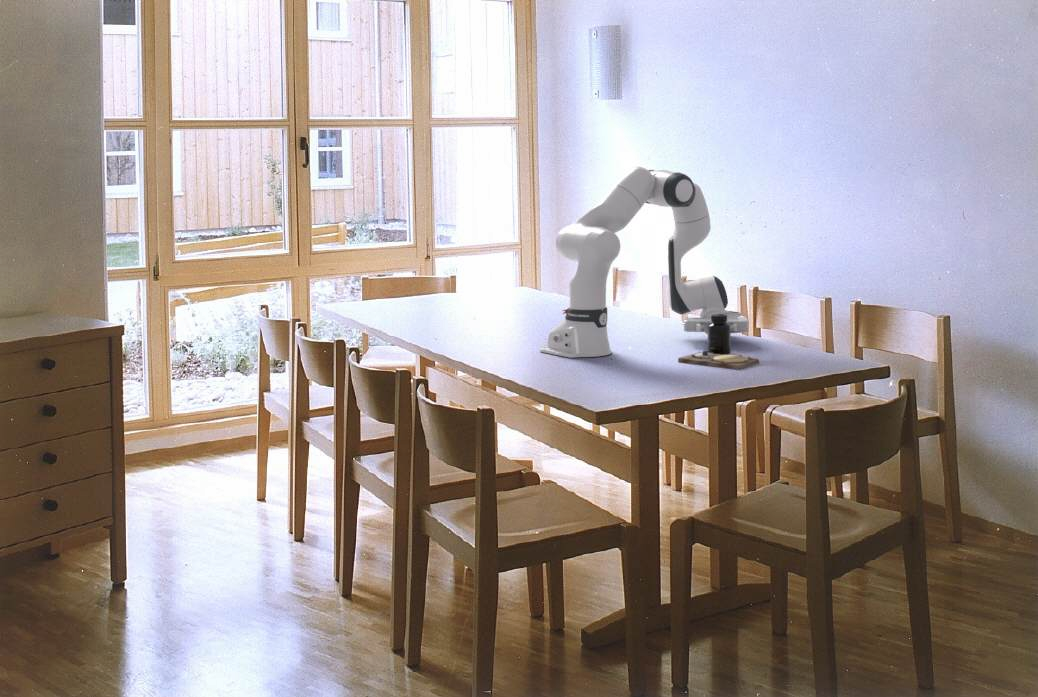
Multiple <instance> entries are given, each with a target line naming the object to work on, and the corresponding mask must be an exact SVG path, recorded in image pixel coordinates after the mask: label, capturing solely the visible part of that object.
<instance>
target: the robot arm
mask: <svg viewBox="0 0 1038 697" xmlns="http://www.w3.org/2000/svg"><path fill="white" fill-rule="evenodd" d="M645 204H649V205H651V204H652V205H656V206H659V207H665V208H666V207H670V208H671V209H672V216H673V219H674V220H673V221H674V227H675V228H674V232H673V234H672V236H670V237H669V239H668V243H667V244H668V245H667V250H668V251H667V252H668V254H667V255H668V256H667V258H668V259H667V261H668V262H667V264H668V283H669V286H668V294H667V295H668V298H667V299H668V300H667V301H668V305H669V307H670V308H671V311H673V312H674V313H676V314H679V315H685V314H688V313H691V312H693V311H699V310H701V311H700V312H699V313H700V314H699V317H687V318H684V320H683V321H682V323H681V324H682V325H683V331H684V332H686V333H687V332H689V333H691V332H693V333H705V334H707V335H708V326H709V324H711V323H712V321H711V315H713V314H726V315H727V321H726V323H728V324H729V325H730V334H740V333H748V332H749V331H750V329H749V328H750V320H749V319H748V317H746V316H744V315H743V312H741V311H731V310H726V308H727V306H728V305H729V300H728V295H727V290H726V287H725V285H724V283H723V281H722V280H721V279H720V278H719V277H717V276H715V275H712V276H707V277H702V278H699V279H695V280H690V281H685V282H683V281H682V266H681V265H682V264H681V263H682V259H683V257H684V256H685V255H686V254H687V253H688V252H689V251H691V250H692V249H694V248H696V247H698V245H700V244H702V243H703V242H704V240H706V238H707V237H708V236H709V234H710V231H711V228H712V227H711V219H710V218H711V217H710V213H709V209H708V205H707V201H706V198H705V196H704V193H703V192H702V188H701V187H700V186H699V185H698V184H697V183H694V182H693V180H692V179H691V177H690V176H688V175H687V174H685V173H682V172H679V171H678V172H674V171H670V170H665V169H663V170H662V169H657V170H656V169H655V170H654V169H647V168H645V167H642V166H634V167H632V168H630V169H629V170H627V171H626V172H625V173H624V174H622V175H621V177H619V178H618V179H617V180H616V182H615V183H613V185H612V186H611V187H610V188H609V190H608V191H607V192H606V193H605V194H604V195H603V197H602V198H601V199H600V200H599V201H598V202H597V204H595V205H594V206H593V207H592V208H591V209H590V210H588V211H587V212H585V214H583V215H581V217H579V218H578V219H577V220H575V221H574V222H573V223H571V224H570V225H567V226H565V227H563V228H562V229H561V230H560V231H559V232H558V233H557V236H556V239H555V246H556V249H557V251H558V253H559V254H560V255H561V256H563V257H565V258H566V259H569V260H570V261H574V262H578V263H577V264H578V265H577V268H576V273H575V275H574V276H573V278H571V280H570V282H569V307H568V308H567V309H563V310H562V314H563V315H565V314H566V315H565V317H564V318H565V319H564V320H562V321H561V322H560V323H559V324H558V325H556V326H555V327H554V328H553V329H551V330H550V331H549V334H548V337H547V345H544V346H542V347H540V349H539V350H540V351H539V352H541V353H545V354H550V355H553V356H554V355H555V356H558V357H559V356H560V357H566V358H592V357H593V358H595V357H603V356H608V355H610V354H612V350H611V346H610V342H609V337H608V327H607V325H608V307H607V281H608V276H609V272H610V269H611V266H612V263H613V262H614V261H615V260H616V259H617V257H618V256H619V255H620V250H621V241H620V238H619V236H618V235H617V234H616V233H618V232H621V231H622V230H624V229H625V228H626V227H627V226H628V225H629V223H630V222H632V220H633V218H634V217H635V216H636V215H637V214H638V213H639V211H640V210H641V209H642V207H643V206H644V205H645Z"/></svg>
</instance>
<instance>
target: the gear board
mask: <svg viewBox="0 0 1038 697" xmlns="http://www.w3.org/2000/svg"><path fill="white" fill-rule="evenodd" d="M677 362H678V363H684V364H692V365H700V366H705V367H706V366H707V367H713V368H722V369H730V370H737V371H738V370H741V369H744V368H748V367H752V366H754V365H757V364H759V363H760V359H759V358H752V357H751V356H745V355H742V354H729V355H727V354H724V355H721V354H714V353H708V350H707V349H706V350H705V349H704V350H702V351H699V352H695V353H691V354H688V355H685V356H681V357H678V358H677Z"/></svg>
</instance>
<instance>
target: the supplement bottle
mask: <svg viewBox="0 0 1038 697" xmlns="http://www.w3.org/2000/svg"><path fill="white" fill-rule="evenodd" d="M711 321H712V323H711V324H709V326H708V334H707V351H708V353H714V354H721V355H724V354H727V355H731V350H732V349H731V347H732V346H731V345H732V344H731V334H732V333H730V325H729V324H728V323H726V321H727V315H726V314H713V315H711Z"/></svg>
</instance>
